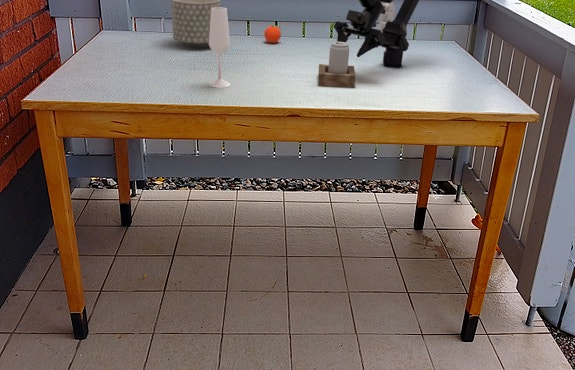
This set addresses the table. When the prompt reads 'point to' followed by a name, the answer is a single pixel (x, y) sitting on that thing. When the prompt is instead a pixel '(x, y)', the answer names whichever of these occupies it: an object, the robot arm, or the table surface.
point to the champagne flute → (219, 40)
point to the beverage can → (338, 57)
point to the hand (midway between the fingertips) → (346, 53)
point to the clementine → (272, 34)
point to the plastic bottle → (386, 15)
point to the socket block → (336, 77)
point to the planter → (192, 21)
